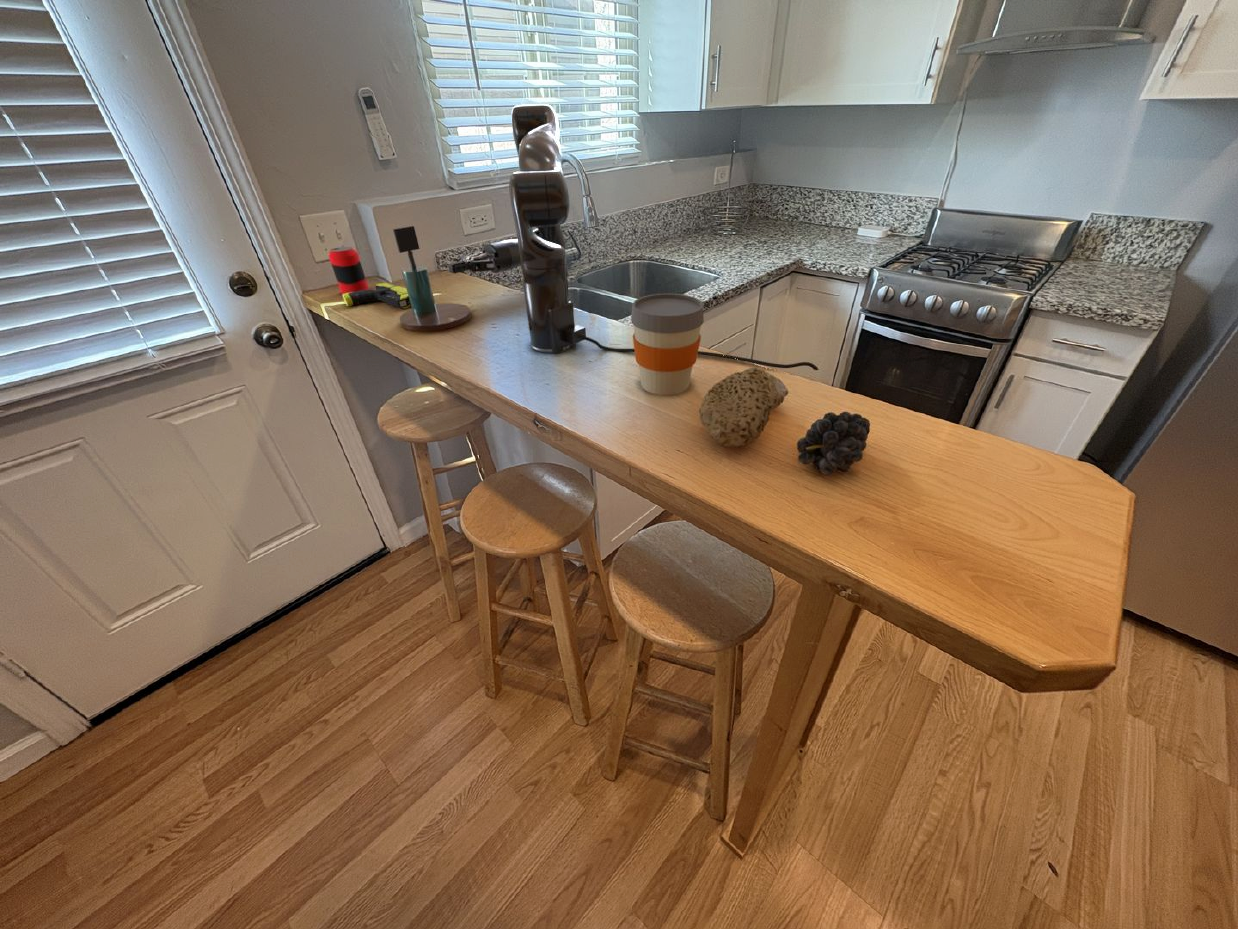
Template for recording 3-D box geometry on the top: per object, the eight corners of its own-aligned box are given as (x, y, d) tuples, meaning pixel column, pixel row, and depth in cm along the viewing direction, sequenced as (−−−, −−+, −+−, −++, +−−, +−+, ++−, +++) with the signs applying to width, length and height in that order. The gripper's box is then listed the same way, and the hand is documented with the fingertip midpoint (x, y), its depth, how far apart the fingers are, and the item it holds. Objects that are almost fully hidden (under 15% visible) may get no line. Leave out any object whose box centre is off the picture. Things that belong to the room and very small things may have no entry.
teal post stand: (484, 316, 123) (468, 228, 111) (424, 336, 113) (399, 241, 101) (446, 303, 132) (427, 220, 121) (388, 320, 122) (361, 232, 110)
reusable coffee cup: (675, 406, 85) (680, 321, 76) (618, 387, 91) (616, 307, 82) (710, 380, 93) (718, 300, 84) (655, 364, 99) (657, 289, 90)
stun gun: (370, 306, 124) (422, 292, 134) (335, 293, 134) (386, 280, 144) (374, 318, 126) (425, 303, 135) (339, 303, 136) (389, 290, 145)
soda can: (352, 288, 149) (338, 245, 142) (374, 288, 147) (361, 246, 140) (336, 295, 143) (320, 251, 136) (359, 296, 141) (344, 252, 134)
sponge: (733, 396, 90) (665, 416, 76) (750, 357, 85) (682, 371, 72) (793, 434, 83) (732, 463, 70) (815, 394, 79) (754, 417, 66)
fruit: (859, 379, 71) (808, 414, 63) (909, 413, 68) (862, 455, 60) (828, 421, 78) (777, 458, 69) (872, 454, 75) (825, 497, 66)
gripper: (487, 238, 137) (433, 249, 126) (517, 244, 130) (462, 257, 119) (492, 266, 141) (439, 279, 131) (521, 273, 134) (469, 288, 124)
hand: (451, 268), depth 125 cm, fingers closed
